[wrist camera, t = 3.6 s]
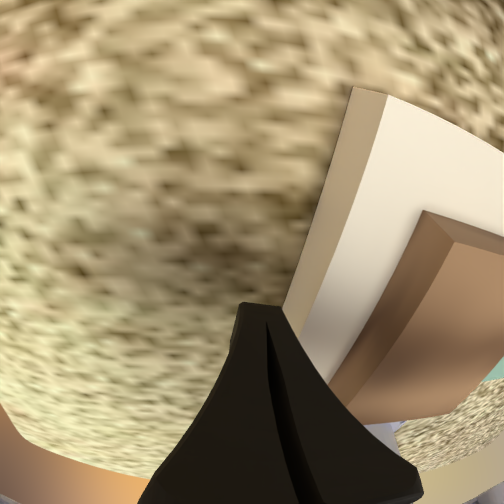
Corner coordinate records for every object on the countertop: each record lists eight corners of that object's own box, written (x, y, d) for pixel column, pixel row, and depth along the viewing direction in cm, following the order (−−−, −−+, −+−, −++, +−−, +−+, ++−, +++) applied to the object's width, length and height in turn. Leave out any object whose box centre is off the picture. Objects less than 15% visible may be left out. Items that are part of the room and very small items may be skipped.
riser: (415, 378, 20) (428, 411, 17) (256, 376, 18) (258, 418, 16) (535, 178, 11) (571, 202, 9) (353, 86, 10) (388, 94, 7)
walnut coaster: (438, 387, 15) (449, 413, 14) (322, 392, 14) (328, 427, 13) (536, 249, 10) (560, 274, 9) (422, 209, 9) (454, 241, 7)
